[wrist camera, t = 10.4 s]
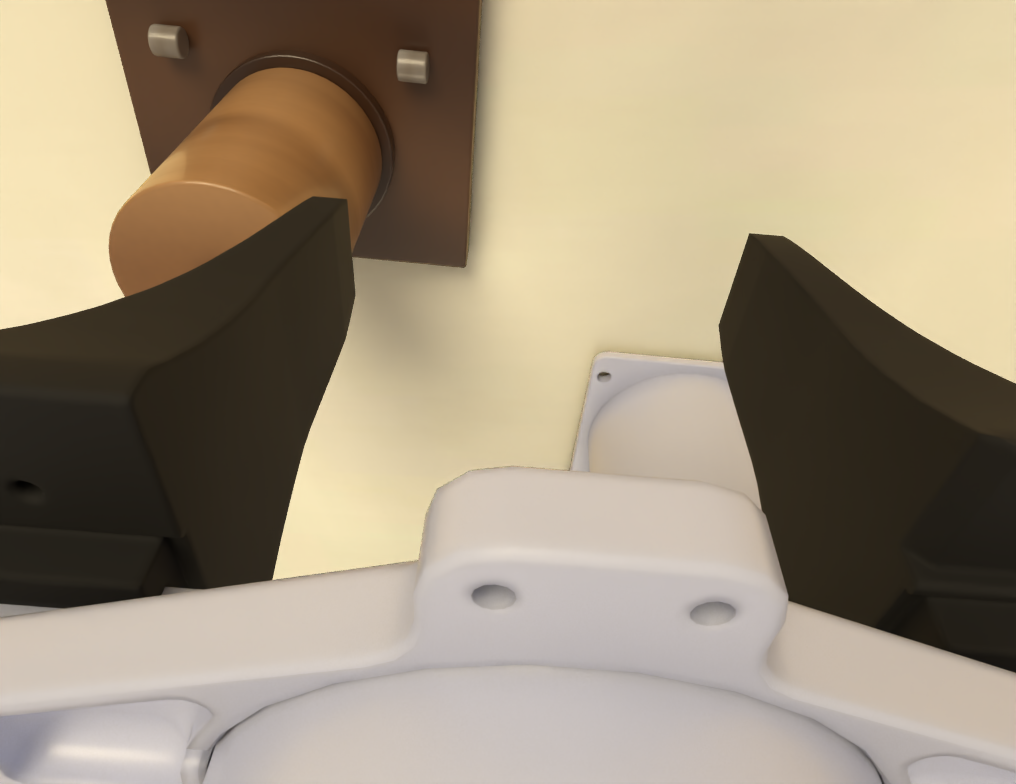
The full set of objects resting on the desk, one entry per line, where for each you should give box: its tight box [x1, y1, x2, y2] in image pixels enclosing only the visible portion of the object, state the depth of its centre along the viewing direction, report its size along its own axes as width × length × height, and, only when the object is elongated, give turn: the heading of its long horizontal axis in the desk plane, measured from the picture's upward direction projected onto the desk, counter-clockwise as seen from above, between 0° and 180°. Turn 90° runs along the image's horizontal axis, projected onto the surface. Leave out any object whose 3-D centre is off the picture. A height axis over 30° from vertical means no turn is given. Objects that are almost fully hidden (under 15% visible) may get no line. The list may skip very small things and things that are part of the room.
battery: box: [109, 50, 395, 297], centre depth 19 cm, size 5×5×8 cm
